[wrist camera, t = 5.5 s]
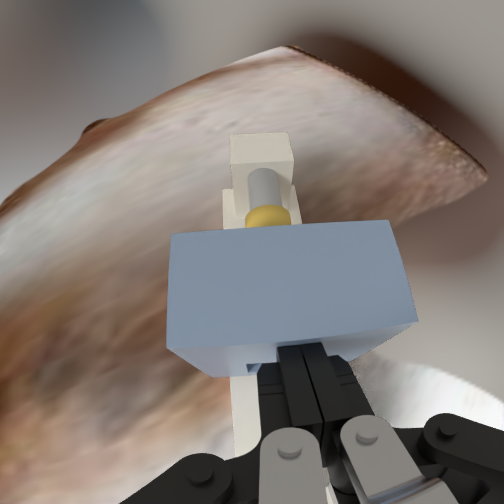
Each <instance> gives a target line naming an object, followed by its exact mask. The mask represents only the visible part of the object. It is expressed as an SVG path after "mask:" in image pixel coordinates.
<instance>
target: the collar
mask: <svg viewBox="0 0 504 504" xmlns="http://www.w3.org/2000/svg"><path fill="white" fill-rule="evenodd" d="M416 322H418V318H417V314H416V309H415V305H414V301H413V297H412V294H411V290H410V286H409V283H408V279H407V275H406V272H405V269H404V265H403V262H402V259H401V256H400V253H399V249H398V246H397V243H396V240H395V238H394V234H393V231H392V228H391V226H390V223H389V220H370V221H349V222H330V223H312V224H296V225H280V226H265V227H251V228H237V229H223V230H211V231H198V232H186V233H174V234H171V245H170V260H169V277H168V300H167V348H168V349H169V350H170V351H172V352H173V353H175V354H176V355H178V356H179V357H181V358H182V359H184V360H185V361H187V362H188V363H190V364H192V365H193V366H195V367H196V368H198V369H199V370H201V371H202V372H204V373H206V374H207V375H209V376H211V377H235V376H251V375H257V372H258V370H259V368H260V366H261V364H262V363H267V362H276V348H277V347H284V346H294V345H299V346H300V345H303V344H312V343H320V342H321V343H322V344H323V347H324V349H325V351H326V353H327V356H332V355H339V356H340V357H341V358H343V359H344V360H345V361H347V362H350V361H352V360H353V359H355V358H357V357H359V356H361V355H363V354H364V353H366V352H368V351H370V350H372V349H373V348H375V347H377V346H379V345H380V344H382V343H384V342H385V341H387V340H389V339H391V338H392V337H394V336H395V335H397V334H399V333H400V332H402V331H404V330H405V329H407V328H408V327H410V326H412V325H413V324H415V323H416Z"/></svg>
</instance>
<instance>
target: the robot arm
mask: <svg viewBox="0 0 504 504" xmlns="http://www.w3.org/2000/svg"><path fill="white" fill-rule="evenodd" d="M257 388H258V402H259V415H260V426H261V438H260V441H259V443H258V444H257V445H256V447H255V448H254V449H252V450H251V451H250V452H248V453H246V454H244V455H242V456H239V457H235V458H232V459H229V460H225V461H224V460H223V459H222V458H220V457H218V456H215V455H212V454H207V453H197V454H192V455H189V456H186V457H184V458H182V459H181V460H179V461H178V462H177V463H175V464H174V465H173V466H172V467H170V468H169V469H168V470H166V471H165V472H164V473H162V474H161V475H160V476H158V477H157V478H155V479H154V480H153V481H151V482H150V483H149V484H147V485H146V486H144V487H143V488H141V489H140V490H139V491H137V492H136V493H134V494H133V495H131V496H130V497H128V498H127V499H125V500H124V501H122V502H121V503H119V504H328V501H327V494H326V487H325V480H324V474H323V468H326V467H327V470H328V473H329V480H328V490H329V493H330V496H331V499H332V501H333V504H504V431H502V430H499V429H496V428H493V427H489V426H486V425H483V424H480V423H477V422H474V421H471V420H469V419H466V418H463V417H460V416H457V415H454V414H450V413H442V414H437V415H435V416H433V417H431V418H430V419H429V420H428V421H427V422H426V424H425V426H424V428H394V427H392V426H391V425H390V424H389V423H388V422H387V421H386V420H384V419H383V418H380V417H377V416H375V414H374V413H373V411H372V409H371V407H370V405H369V403H368V401H367V399H366V397H365V395H364V393H363V391H362V389H361V387H360V385H359V383H358V381H357V379H356V377H355V375H354V374H353V371H352V369H351V367H350V365H349V363H348V362H347V361H345V360H344V359H343V358H341V357H340V356H339V355H332V356H327V353H326V351H325V349H324V347H323V344H322V343H321V342H320V343H312V344H303V345H300V346H299V345H294V346H284V347H277V348H276V362H271V363H262V364H261V366H260V368H259V370H258V372H257Z"/></svg>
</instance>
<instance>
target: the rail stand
mask: <svg viewBox="0 0 504 504" xmlns="http://www.w3.org/2000/svg"><path fill="white" fill-rule="evenodd" d="M229 136H230V164H231V174H232V184H233V188H231V189H222V193H223V229H237V228H251V227H265V226H280V225H296V224H302V220H301V215H300V210H299V205H298V200H297V196H296V191H295V186H294V185H291V183H292V175H293V167H294V158H293V154H292V150H291V146H290V142H289V138H288V134H287V132H275V133H253V134H237V135H229ZM267 363H271V362H267ZM230 388H231V403H232V417H233V431H234V443H235V455H236V457H239V456H242V455H244V454H246V453H248V452H250V451H251V450H252V449H254V448H255V447H256V445H257V444H258V443H259V441H260V438H261V426H260V415H259V402H258V388H257V375H251V376H235V377H230ZM323 474H324V480H325V487H326V494H327V501H328V504H333V501H332V499H331V496H330V493H329V490H328V480H329V473H328V470H327V467H326V468H323Z"/></svg>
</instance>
